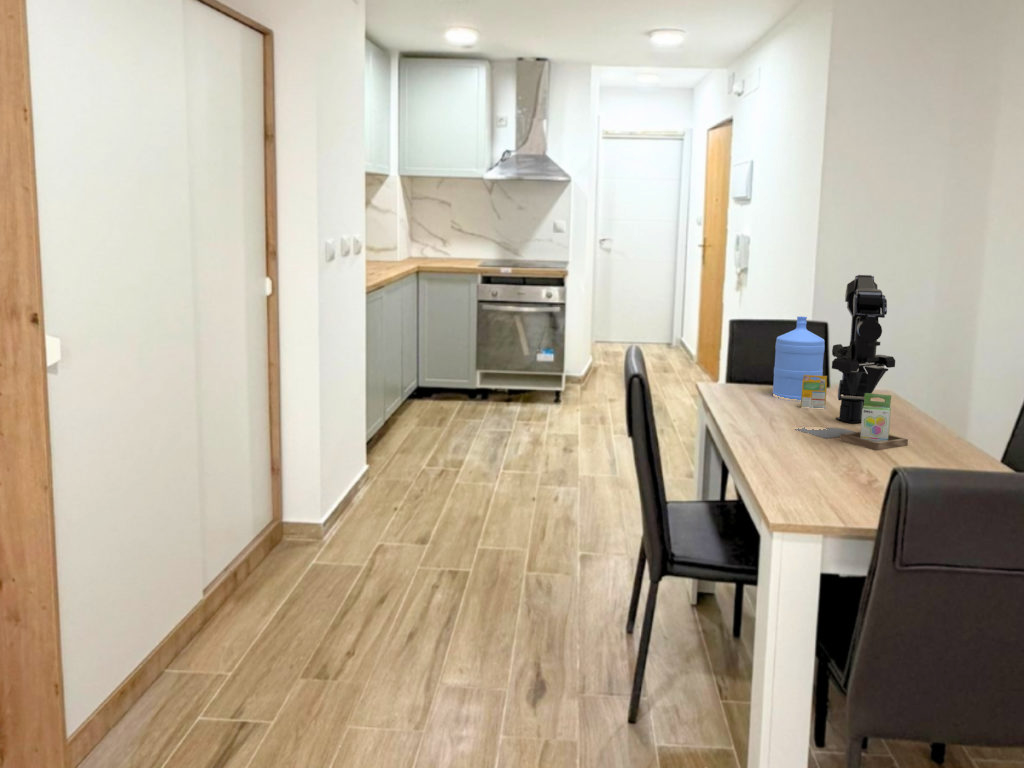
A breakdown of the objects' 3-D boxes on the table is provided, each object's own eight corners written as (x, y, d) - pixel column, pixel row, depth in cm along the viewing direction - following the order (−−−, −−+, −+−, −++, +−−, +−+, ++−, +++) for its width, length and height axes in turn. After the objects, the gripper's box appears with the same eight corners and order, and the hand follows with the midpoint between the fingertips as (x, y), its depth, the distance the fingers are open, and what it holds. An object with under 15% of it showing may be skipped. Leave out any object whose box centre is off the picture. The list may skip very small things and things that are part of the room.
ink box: (859, 444, 255) (863, 395, 253) (860, 441, 259) (864, 392, 257) (887, 447, 253) (891, 397, 250) (887, 444, 256) (892, 395, 254)
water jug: (826, 405, 311) (833, 319, 307) (778, 404, 311) (784, 318, 307) (812, 396, 327) (818, 315, 322) (766, 395, 327) (772, 314, 322)
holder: (871, 437, 264) (871, 430, 264) (907, 446, 254) (908, 439, 253) (840, 441, 258) (840, 434, 258) (876, 450, 248) (876, 443, 248)
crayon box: (824, 411, 302) (827, 374, 300) (825, 412, 299) (827, 376, 297) (800, 409, 303) (802, 373, 301) (800, 411, 300) (803, 374, 298)
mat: (824, 425, 279) (824, 423, 279) (862, 435, 267) (862, 433, 267) (788, 429, 272) (788, 427, 272) (826, 439, 260) (826, 437, 260)
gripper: (865, 332, 267) (860, 386, 270) (818, 335, 258) (813, 392, 261) (898, 336, 258) (893, 393, 260) (851, 340, 248) (846, 399, 251)
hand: (861, 394), depth 258 cm, fingers open, 6 cm apart
